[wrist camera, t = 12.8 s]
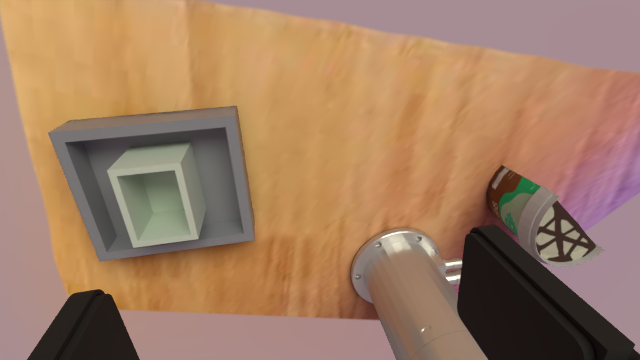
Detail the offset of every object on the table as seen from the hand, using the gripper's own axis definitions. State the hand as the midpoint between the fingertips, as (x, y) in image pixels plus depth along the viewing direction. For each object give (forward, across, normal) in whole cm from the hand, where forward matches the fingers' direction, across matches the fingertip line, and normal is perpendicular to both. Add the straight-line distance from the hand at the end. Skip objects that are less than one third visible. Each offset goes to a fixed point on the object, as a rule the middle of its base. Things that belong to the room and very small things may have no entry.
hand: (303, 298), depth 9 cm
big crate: (+30, +12, +8) cm, 33 cm away
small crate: (+29, +12, +8) cm, 32 cm away
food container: (+30, -29, +18) cm, 46 cm away
